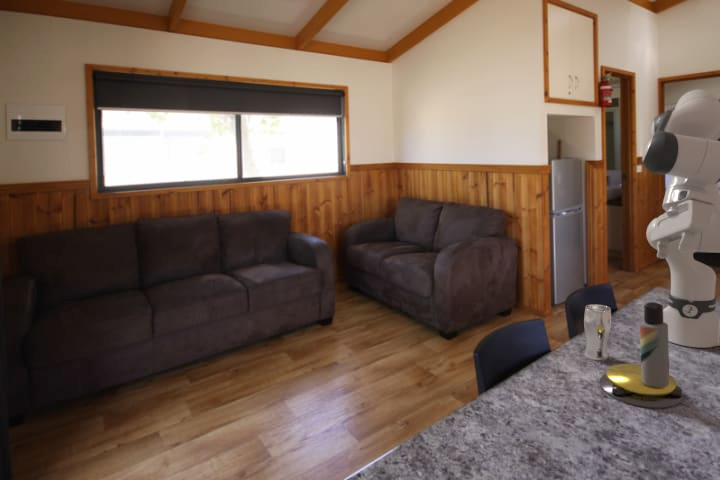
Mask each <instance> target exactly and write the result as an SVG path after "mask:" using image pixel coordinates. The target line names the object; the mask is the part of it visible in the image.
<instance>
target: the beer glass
mask: <svg viewBox="0 0 720 480" xmlns="http://www.w3.org/2000/svg"><path fill="white" fill-rule="evenodd" d="M584 309H585V310H584V316H583V317H584V318H583V325H584V334H585V339H586V346H585V349H584V356H585V357H586V358H587V359H589V360H592V361H606V360H607V359H608V356H609V355H608V348H607V347H608V346H607V344H608V340H609V337H610V336H609V335H610V332H611V328H612V327H611V326H612V310H611V307H610V306H607V305H603V304H587V305H585V308H584Z"/></svg>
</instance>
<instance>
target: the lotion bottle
mask: <svg viewBox="0 0 720 480" xmlns="http://www.w3.org/2000/svg"><path fill="white" fill-rule="evenodd" d="M643 307H644V308H643V313H644V314H643V316H644V317H643V321H641V322H640V325H639V326H640V327H639V328H640V329H639V333H640V334H639V337H640V365H641V375H642V382H643V383H644V384H645V385H647V386H650V387H655V388H664V387H667V386H668V385H669V375H670V362H669V361H670V356H669V355H670V353H669V346H670V345H669V341H668V325H667V323H665V322H663V310H664V306H663V304H660V303H659V302H652V301H651V302H647V303H645V304H643Z"/></svg>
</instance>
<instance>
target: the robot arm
mask: <svg viewBox="0 0 720 480" xmlns="http://www.w3.org/2000/svg"><path fill="white" fill-rule="evenodd" d="M650 135H651V138H650V139H649V140H648V142H647V144H645V147H644V150H643V152H642V158H641V159H642V160H641V161H642V165H643V167H644V168H645V169H646V170H647V171H648V172H649V173H650V174H658V175H667V176H669V177H670V181H669V184H668V185H667V187H666V190H665V193H664V198H663V200H662V201H663V202H662V205H661V207H662V208H661V209H663V211H664V212H663V214H661V215H659V216H658V217H655V218H654V219H652V220H651V221H650V222H649V224H648V226H647V228H646V233H645V235H646V240H647V241H648V243H649V245H650V246H651V247H652V248H653V249H655V250H656V251H657V253H656V258H658V259H663V260H664V259H665V260H666V262H667V264H668V266H669V271H670V291H669V293H668V296H667V306H666V307H665V308H664V307H663V322H665V323H667V325H668V342H669V343H673V344H676V345H680V346H684V347H689V348H699V349H701V348H702V349H704V348H712V347H719V346H720V317H719V315H718V314H717V313H716V311H715V310H716V309H717V307H716V306H717V298H716V297H715V295H716V284H717V283H716V282H717V275H716V272H715V270H713V268H712V267H710V266H709V265H707V264H705V263H702V262H701V261H698V260H696V259H695V258H694V253H716V254H717V253H719V254H720V190H719V185H718V184H719V183H720V100H719V99H718V97H717V96H716V95H715V94H714V93H712V92H711V91H709V90H707V89H700V88H699V89H693V90H690V91H688V92H686V93H685V94H683V95H682V96H681V97H680V98H679V99H678V100H677V102H676V105H675V107H674V110H673V109H672V110H669V109H667V110H666V111H664V112H662V113H660V114H658V115H656V117H654V120H653V122H652V124H651V127H650Z"/></svg>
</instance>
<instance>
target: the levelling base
mask: <svg viewBox="0 0 720 480" xmlns="http://www.w3.org/2000/svg"><path fill="white" fill-rule="evenodd" d="M599 386H600V388H601V390H602V391H603V392H604V393H605V394H607V396H609V397H612V398H613V399H615V400H617V401H619V402H621V403H624V404H627V405H630V406H634V407H638V408H639V407H640V408H644V409H653V410H655V409H656V410H657V409H658V410H661V409H670V408H674V407H677V406H679V405H680V404H681V403H682V402H683V397H684V396H683V395H684V394H683V389H682V387H680V386H678V385H677V381H676V380H675V378H674V377H673V376H671V375H670V374H669V385H668V386H667V387H664V388H655V387H650V386H647V385H645V384H644V383H643V382H642V375H641V364H637V363H619V364H614V365H611V366H609V367H608V368H607V370H606V373H604V374H603V375H602V376H601V377H600V378H599Z"/></svg>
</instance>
